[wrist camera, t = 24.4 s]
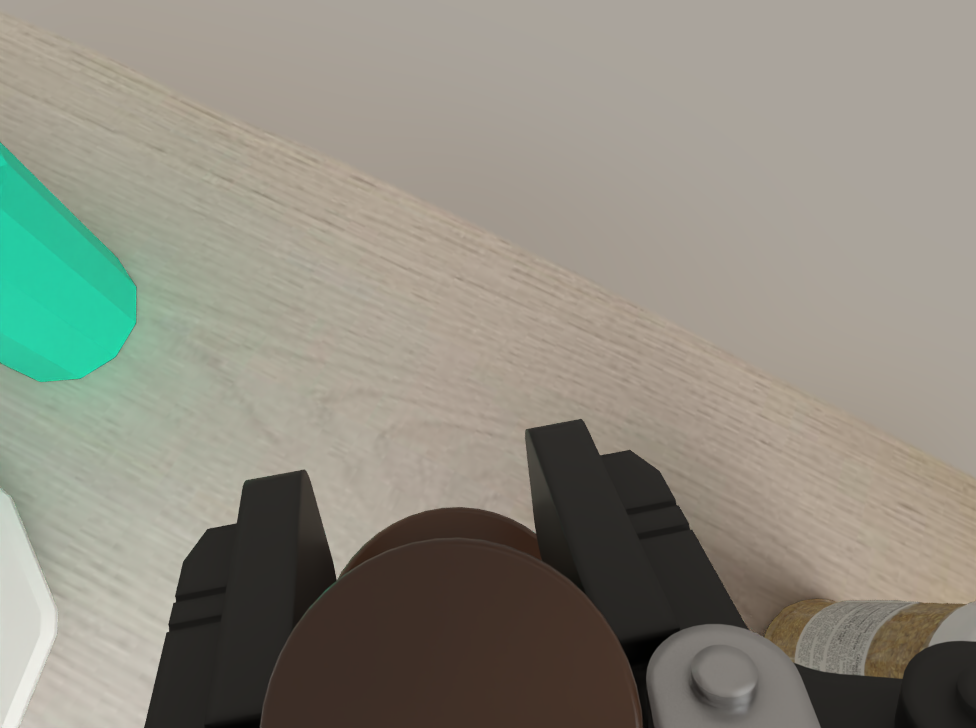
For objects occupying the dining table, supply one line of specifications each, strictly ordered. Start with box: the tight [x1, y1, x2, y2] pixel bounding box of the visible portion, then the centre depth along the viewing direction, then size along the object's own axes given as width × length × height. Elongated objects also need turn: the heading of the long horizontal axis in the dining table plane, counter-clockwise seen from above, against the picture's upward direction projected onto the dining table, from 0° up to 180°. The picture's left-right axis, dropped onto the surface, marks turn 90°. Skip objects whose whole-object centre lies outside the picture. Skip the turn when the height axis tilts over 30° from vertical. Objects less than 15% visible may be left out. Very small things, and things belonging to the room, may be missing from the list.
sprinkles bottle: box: [764, 599, 976, 679], centre depth 25 cm, size 5×5×13 cm
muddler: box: [260, 507, 643, 728], centre depth 11 cm, size 4×4×10 cm
